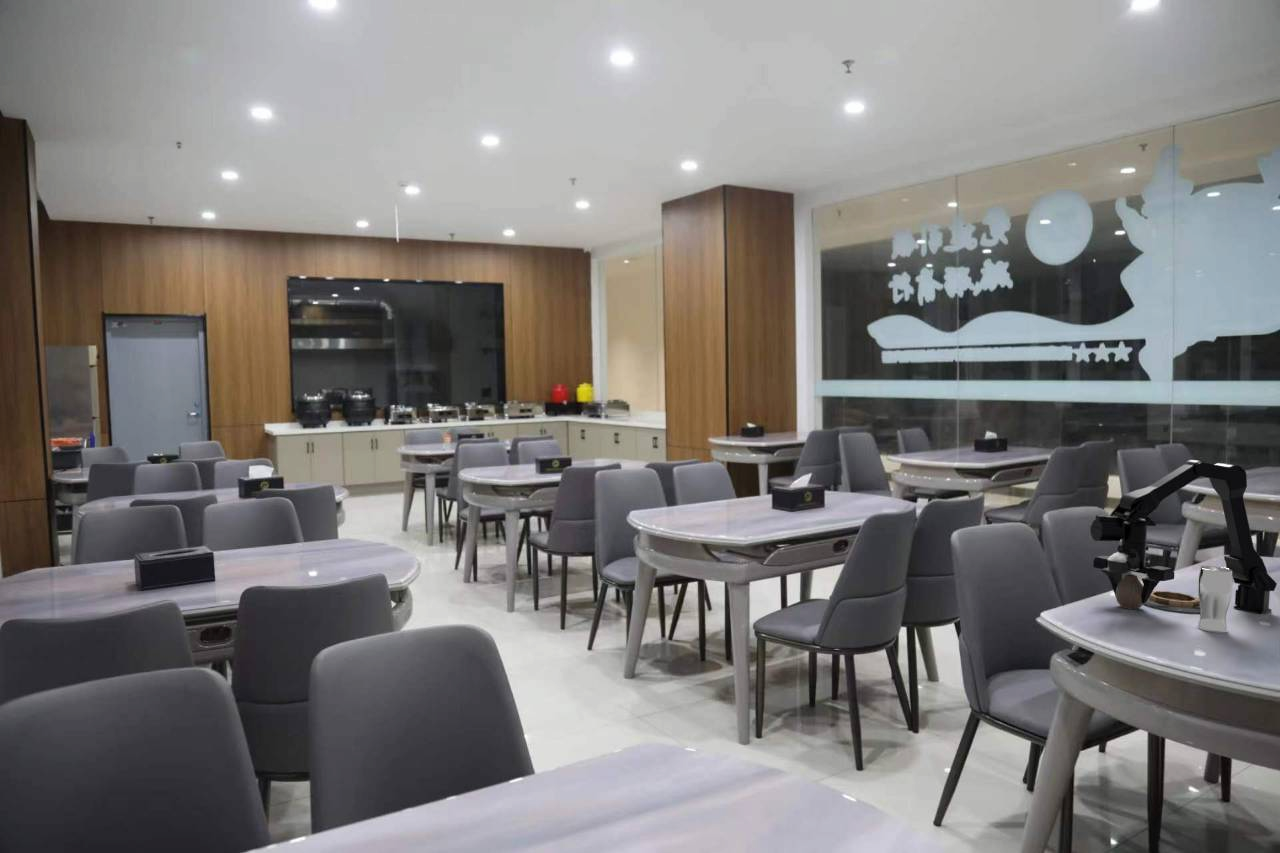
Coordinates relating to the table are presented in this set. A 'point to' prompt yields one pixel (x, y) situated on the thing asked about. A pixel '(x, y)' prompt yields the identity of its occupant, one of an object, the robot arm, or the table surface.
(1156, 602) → the wooden ring on tray
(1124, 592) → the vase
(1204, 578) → the beer glass
